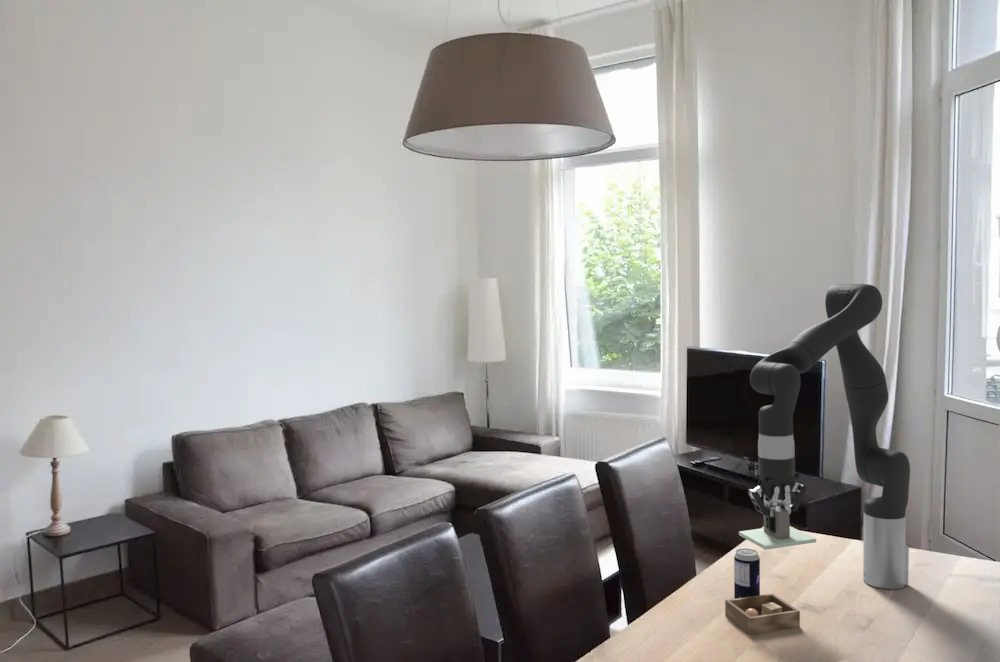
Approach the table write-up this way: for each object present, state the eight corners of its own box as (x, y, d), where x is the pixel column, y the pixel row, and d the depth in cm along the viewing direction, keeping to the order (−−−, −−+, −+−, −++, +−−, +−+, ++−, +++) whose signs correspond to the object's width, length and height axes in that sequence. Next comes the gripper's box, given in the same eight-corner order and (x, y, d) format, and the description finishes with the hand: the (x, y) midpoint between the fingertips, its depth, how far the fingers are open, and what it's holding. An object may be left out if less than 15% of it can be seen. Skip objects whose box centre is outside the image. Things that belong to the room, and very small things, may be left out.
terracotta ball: (753, 618, 173) (753, 605, 173) (761, 624, 170) (761, 610, 170) (741, 620, 173) (741, 607, 172) (749, 625, 170) (749, 612, 170)
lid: (787, 528, 179) (786, 498, 179) (816, 542, 169) (815, 511, 169) (738, 535, 176) (737, 505, 176) (765, 549, 166) (764, 518, 166)
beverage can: (761, 608, 180) (761, 556, 179) (735, 606, 181) (735, 555, 180) (758, 598, 186) (758, 548, 185) (733, 596, 187) (733, 547, 186)
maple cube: (772, 615, 175) (772, 602, 175) (782, 620, 172) (782, 607, 172) (761, 617, 174) (761, 604, 173) (771, 623, 171) (771, 609, 171)
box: (772, 610, 179) (772, 593, 178) (799, 629, 169) (799, 611, 169) (725, 617, 176) (725, 600, 175) (750, 636, 166) (750, 618, 166)
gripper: (793, 447, 176) (795, 522, 177) (738, 453, 173) (740, 529, 174) (815, 454, 169) (816, 532, 170) (757, 460, 166) (759, 540, 167)
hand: (777, 530), depth 172 cm, fingers closed on lid, 2 cm apart
